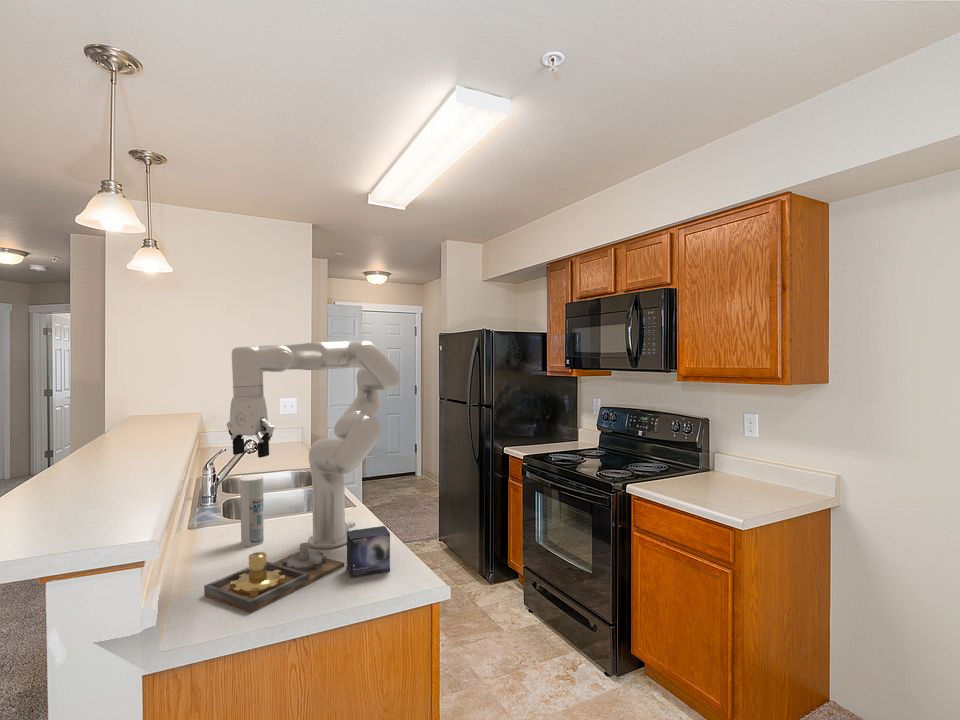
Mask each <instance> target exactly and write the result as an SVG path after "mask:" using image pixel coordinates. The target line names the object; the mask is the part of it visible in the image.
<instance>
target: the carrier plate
mask: <svg viewBox="0 0 960 720" xmlns="http://www.w3.org/2000/svg"><path fill="white" fill-rule="evenodd" d="M344 567H345V562H343V561H340V560H339V561H338V560H336V559H333V558H332V559H331V558H327V555H323V552H322V551H316V552H310V546H309V543H308V542H302V543H300V544H299V551H297V552H295V553H292V554H290V555H288V556H286V557H283V558H281V559H279V560H276V561H274V562H271V561H268V560H267V571H275V570H280V571H281V575H285V583H284V584H281V585H278V587H276V588H274V589H272V590H270V591H268V592H265V593H262V594H259V596H257V597H251V598H250V595H238V594H235V593H233V590H230V583H231V581H237V580H238V579H239V575H242V574H244V573H246V574H249V566H248V567H246V568H244V569H241V570H238V571H237V572H234V573H231V574H230V575H226V576H225V577H222V578H220V579H217V580H214V581H213V582H209V583H208V584H204V586H203V596H204V598H209V599H211V600H213V601H217V602H219V603H220V604H221V603H222V604H225V605H228V606H230V607H233V608H236V609H238V610H241V611H244V612H246V613H249V614H252V613H253V612H256V611H258V610H260V609H261V608H263V607H265V606H268V605H269V604H271V603H274V602H276V601H277V600H280V599H283V598H284V597H286V596H288V595H289V594H292V593H294V592H295V591H298V590H300V589H301V588H303V587H304V588H305V587H306V586H308V585H310V584H312V583H314V582H316V581H318V580H319V579H322V578H324V577H326V576H327V575H329V574H331V573H334V572H336V571H338V570H339V569H341V568H344Z"/></svg>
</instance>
